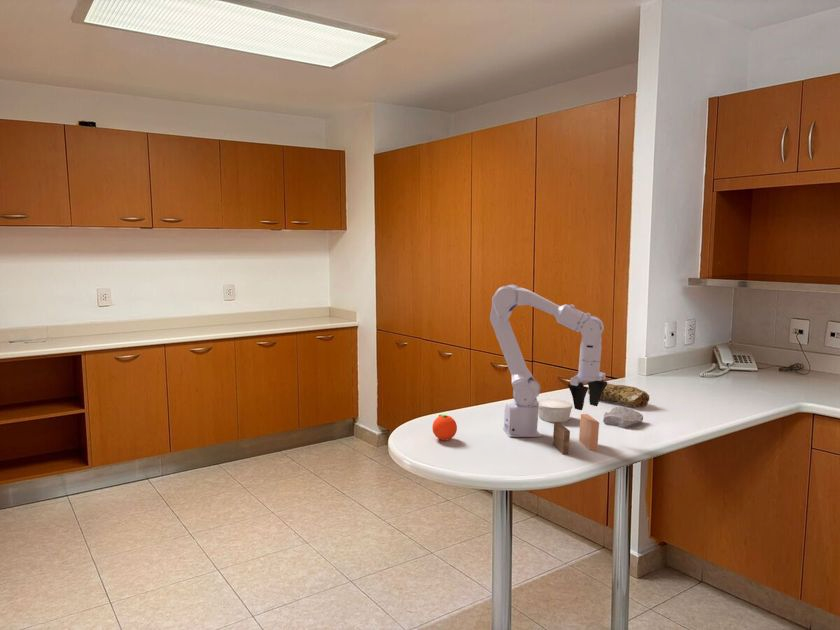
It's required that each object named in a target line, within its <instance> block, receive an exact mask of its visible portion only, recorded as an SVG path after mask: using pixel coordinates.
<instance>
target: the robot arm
mask: <svg viewBox="0 0 840 630" xmlns="http://www.w3.org/2000/svg"><path fill="white" fill-rule="evenodd" d="M517 306H519V307H520V306H530V307H533V308H536V309H538V310H541V311H542V312H545V313H547V314H549V315H551V316H554V318H555V319H556V323H558V324H560V325H562V326H564V327H567V328H568V329H570V330H573V331H574V332H576V333H579V332H580V334H581V342H580V345H579V346H580V347H579V357H578V358H579V361H578V372H577V374H575V376H573V377H570V381H569V382H568V384H567V388H568V389H569V391H570V393H571V396H572V400H573V407H574V410H578V411H583V408H584V404H585V399H586V395H587V394H588V389H589V394H588V395H589V396H588V397H589V398H588V399H589V401H588V402H589V405H590V406H594V407H598V405H599V402H600V401H601V400H600V397H601V394H602V392H603V390H604V389H605V387H606V386H607V383H608V381H605V380H606V374H607V373H606V372H602V371H601V360H602V359H601V357H602V348H603V347H602V342H603V338H602V337H603V336H602V334H603V332H604V327H605V326H604V323H603V321H602V320H601V319H600V318H599V317H598V316H596V315H592V314H591V313H590V312H583V311H582V310H579V309H577V308H576V305H574V304H572V303H571V304H566V303H565V304H563V305H559V304H558V303H554V302H553V301H551V300H550V299H548V298H545V297H543V296H541V295H539V294H537V293H536V292H533V291H532V290H530V289H527V288H524V287H520V286H518V285H516V284H508V285H504V286H503V285H502V286H500V287H499V288H497V290H496V291H495V292H494V294H493V296H492V297H491V310H490V315H489V321H490V323H491V326H492V328H493V331H494V334H495V337H496V339H497V341H498V344H499V347H500V349H501V352H502V355H503V357H504V360H505V363H506V365H507V368H508V371H509V372H510V375H511V386H512V388H513V391H512V397H513V402H512V403H506V404H505V407H504V419H503V420H504V422H503V428H502V429H503V430H504V432H505V433H506V434H507V436H509V437H510V438H542V434H541V433H540V432H539V431H538V422H539V421H538V419H539V416H538V407H539V403H538V401H539V400H538V399H537V398H538V396H539V395H540V394H541V385H540V383H539V382H538V381H537V380H536V379H535V378H534V376H533V374H532V372H531V371H530V370H529V369H528V367H527V364H526V360H525V359H524V355H523V353H522V351H521V348H520V346H519V343H518V340H517V338H516V335H515V333H514V331H513V328H512V325H511V322H510V320H509V319H510V317H511V315H512V313H513V312H514V309H515V308H516V307H517ZM584 384H587V386H585V385H584Z"/></svg>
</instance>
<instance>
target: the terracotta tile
mask: <svg viewBox="0 0 840 630" xmlns="http://www.w3.org/2000/svg"><path fill="white" fill-rule="evenodd" d="M579 421H580V422H579V423H580V424H579V436H578V441H579V442H580V444H581V445H583V446H584V447H585V448H586V449H588V450H589V451H598V447H599V446H598V444H599V432H600V421H598V420H597V419H595V418H594V417H592V415H589V414H588V413H580V419H579Z"/></svg>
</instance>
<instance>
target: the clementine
mask: <svg viewBox="0 0 840 630" xmlns="http://www.w3.org/2000/svg"><path fill="white" fill-rule="evenodd" d="M431 428H432V432H433V434H434V436H435V437H436V438H437V439H438V440H441V441H449V440H451V439H452V438H454V437H455V435H456V433H457V431H458V425H457V422H456V420H455V419H454V418H453V417H452V416H450V415H447V414H439V415H438V416H437V417H436V418H435V419H434V421H433V423H432V427H431Z"/></svg>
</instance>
